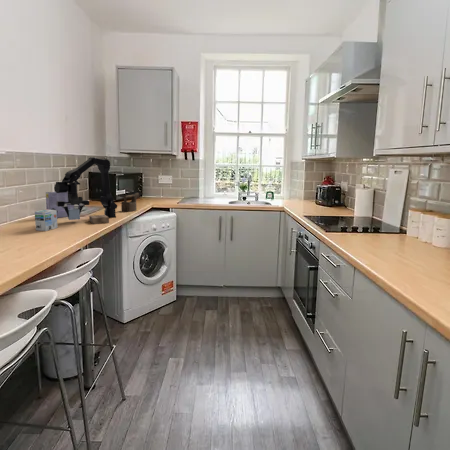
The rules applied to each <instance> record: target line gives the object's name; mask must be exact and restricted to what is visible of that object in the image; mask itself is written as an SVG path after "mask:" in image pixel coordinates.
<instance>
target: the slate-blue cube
mask: <svg viewBox="0 0 450 450" xmlns="http://www.w3.org/2000/svg"><path fill="white" fill-rule="evenodd" d="M68 213H69V217H67V219H68V220H70V221H73V220H81V216H80V215H81V213H80V210H79V209H78V208H74V209H68Z"/></svg>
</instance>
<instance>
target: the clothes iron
mask: <svg viewBox="0 0 450 450" xmlns="http://www.w3.org/2000/svg"><path fill="white" fill-rule="evenodd" d="M139 197H140V193H139V192H135V193H133V194H127V195H124V196H123V201H121V209H120V211H121V212H128V213H129V212H135V211H137V199H138V198H139ZM130 198H131V201H127V199H130Z"/></svg>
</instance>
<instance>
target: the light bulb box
mask: <svg viewBox="0 0 450 450" xmlns="http://www.w3.org/2000/svg"><path fill="white" fill-rule="evenodd" d="M34 224H35V231H39V232H41V231H42V232H48V231H51V229H52V230H55V229H58V218H57V210H49V209H46V208H45V209H41V210H37V211H34Z"/></svg>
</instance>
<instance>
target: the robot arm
mask: <svg viewBox="0 0 450 450" xmlns="http://www.w3.org/2000/svg"><path fill="white" fill-rule="evenodd" d="M94 165H95V166H97V169H98V171H99V172H100V178H101V187H102V195H101V196H99V200H100V201H99V202H100V203H101V205H102V207H103V208H104V210H103V211H104V214H103V215H106V216H108V217H109V219H110V218H117V215H116V209H117V208H118V205H117V203H116V202H115V201H114V197H113V195H112V193H111V184H110V176H109V171H110V169H111V161H110V160H109V159H105V158H97V157H92V156H91V157H89V158H88V159H87V160H86V161H84V162H82V163H81V164H80V165H79V166H77V167H76V168H73V169H71V170H68V171H66V172H65V174H64V177H63V179H62V180H61V181H55V184H54V186H53V191H54V192H56V193H66V192H68V202H64V201H57V202H56V206H58V207H60V206H61V207H63V208H64V209H65V211H66V213H67V216H68V217H69V213H68V206H67V205H74V206H77V207H78V208H77V209H79V210H80V214H82V210H83V208H84V207H86V206H89V205H90V201H89V200H88V199H83V196H79V195H78V186H79V185H81V183H80V182H79V179H80V178H81V176H82V174H83V173H85V172H86V171H87V170H89V169H90V168H91V167H93V166H94ZM68 217H67V218H68Z"/></svg>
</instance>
